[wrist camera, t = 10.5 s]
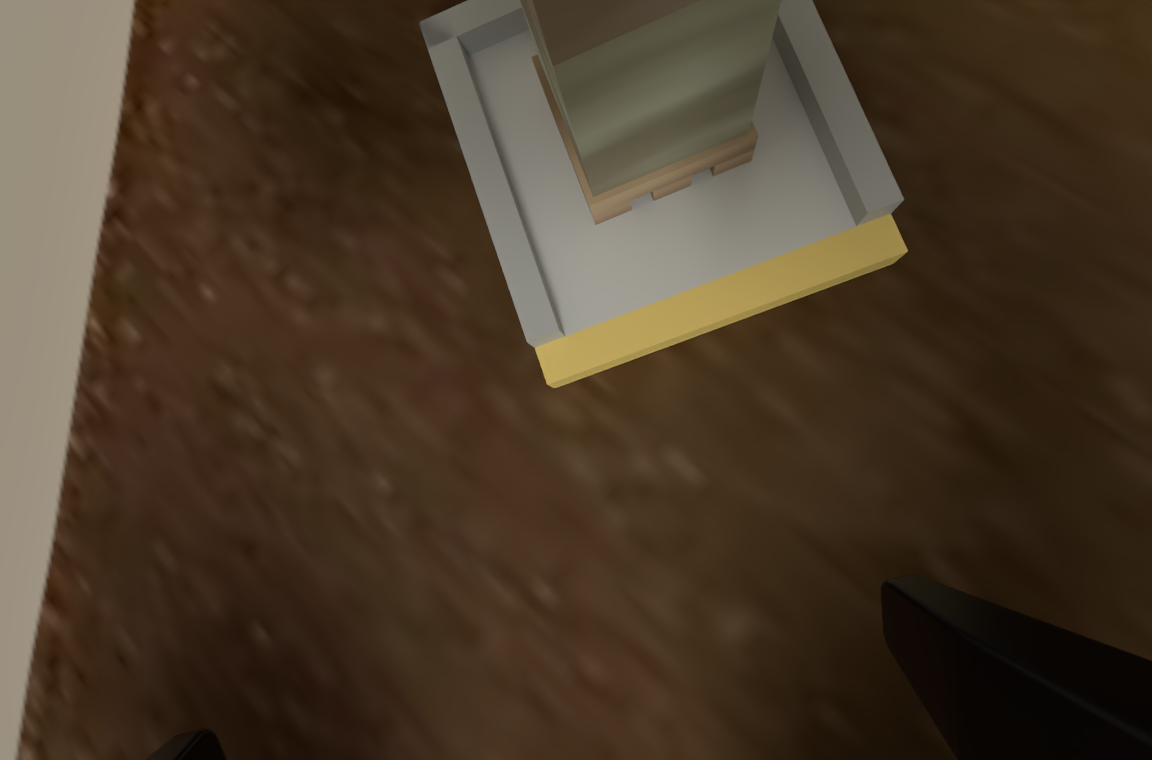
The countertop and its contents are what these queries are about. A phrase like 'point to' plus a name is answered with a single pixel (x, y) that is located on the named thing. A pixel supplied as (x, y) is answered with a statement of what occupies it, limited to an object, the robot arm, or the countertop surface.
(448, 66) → the pad
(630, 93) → the pale banded rectangular block
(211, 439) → the countertop surface
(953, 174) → the countertop surface
